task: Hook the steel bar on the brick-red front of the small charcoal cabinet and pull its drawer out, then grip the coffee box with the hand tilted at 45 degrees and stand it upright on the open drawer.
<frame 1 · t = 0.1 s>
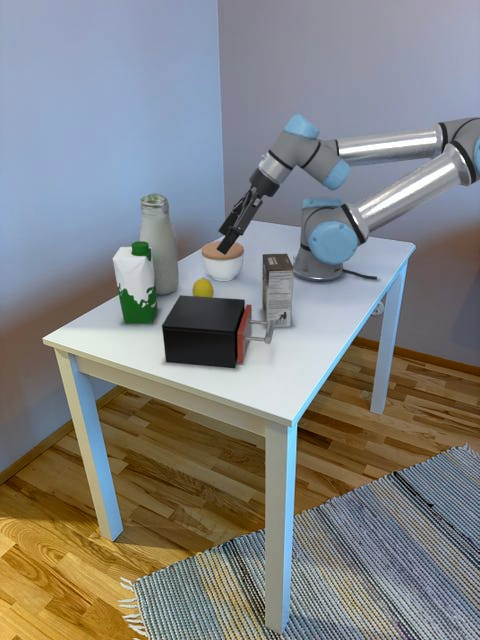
hand: (221, 242, 124), 15 cm above the table, tool tilted 35°, fingers open, 13 cm apart
cabinet: (207, 347, 108), on the table
lemon: (203, 305, 126), on the table
coffee box: (275, 319, 119), on the table
glass bottle: (163, 292, 133), on the table
milk carton: (141, 317, 121), on the table
drawer: (228, 331, 105), point 5 cm above the table, slide at 0.5 cm
lidded bowl: (223, 276, 142), on the table
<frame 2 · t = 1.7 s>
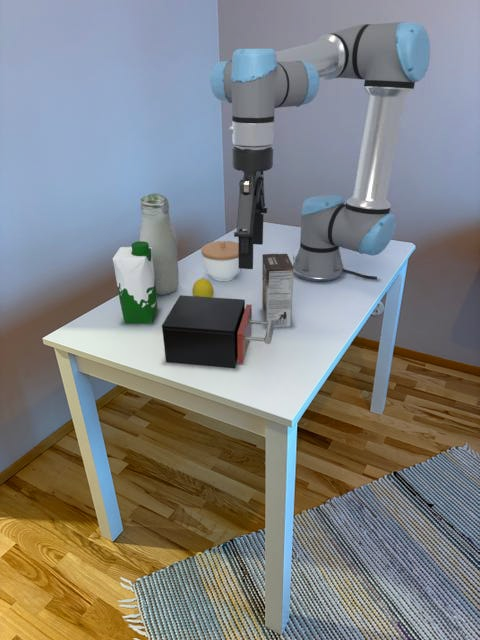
hand: (251, 255, 95), 23 cm above the table, tool pointing down, fingers open, 13 cm apart
nothing on the table moved.
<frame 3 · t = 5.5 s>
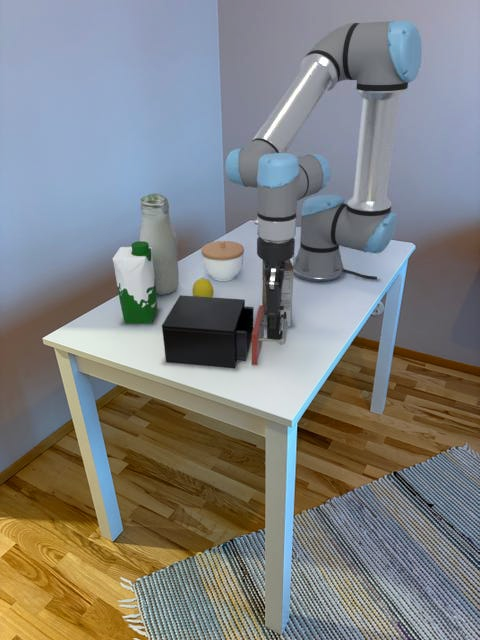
hand: (273, 337, 103), 4 cm above the table, tool pointing down, fingers closed
drawer: (241, 332, 104), point 5 cm above the table, slide at 3.5 cm, touching gripper
everything else where it was.
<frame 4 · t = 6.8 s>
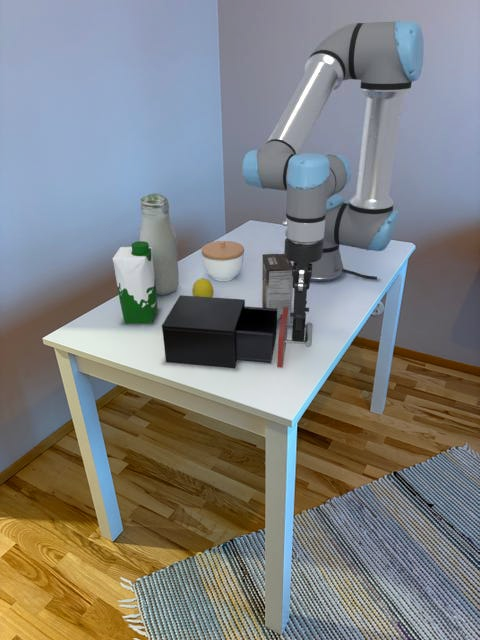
hand: (298, 339, 103), 4 cm above the table, tool pointing down, fingers closed
drawer: (266, 334, 103), point 5 cm above the table, slide at 9.1 cm, touching gripper
everything else where it was.
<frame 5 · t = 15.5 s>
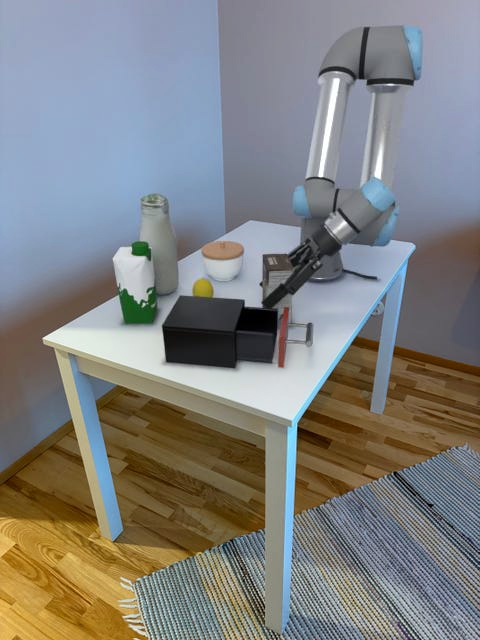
hand: (264, 296, 116), 6 cm above the table, tool tilted 45°, fingers closed on coffee box, 9 cm apart
coffee box: (275, 319, 119), on the table, touching gripper
drawer: (266, 334, 103), point 5 cm above the table, slide at 9.3 cm
everything else where it was.
when the fingers open (11 cm above the table, at t = 23.5 s): coffee box stays where it is, resting on drawer.
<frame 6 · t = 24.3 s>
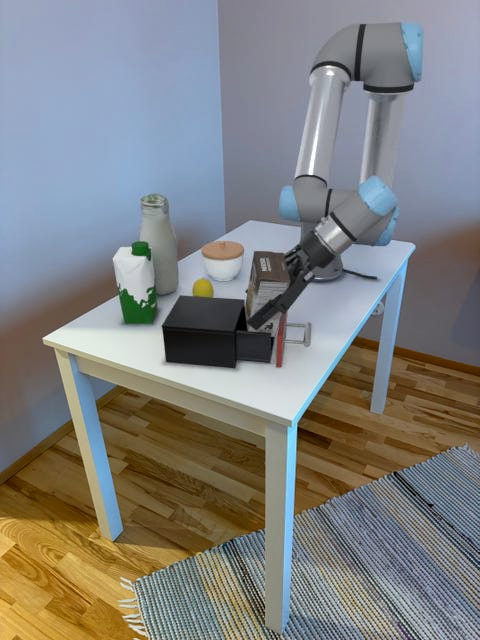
hand: (250, 309, 100), 11 cm above the table, tool tilted 45°, fingers open, 13 cm apart
coffee box: (259, 322, 102), point 8 cm above the table, touching drawer, gripper
drawer: (264, 334, 103), point 5 cm above the table, slide at 8.8 cm, touching coffee box
everything else where it was.
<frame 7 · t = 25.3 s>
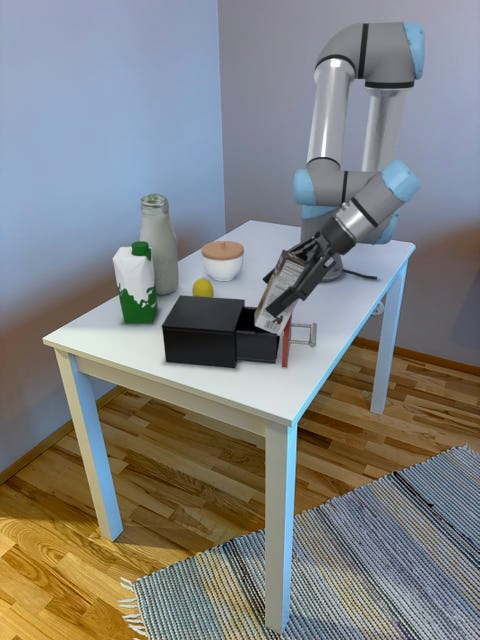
hand: (268, 297, 99), 14 cm above the table, tool tilted 45°, fingers open, 13 cm apart
coffee box: (266, 325, 102), point 7 cm above the table, touching drawer, gripper
drawer: (270, 335, 103), point 5 cm above the table, slide at 10.0 cm, touching coffee box
everything else where it was.
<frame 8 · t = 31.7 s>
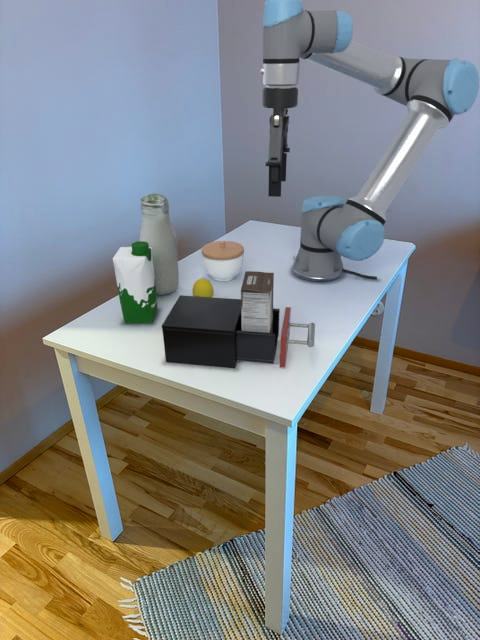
hand: (277, 188, 108), 32 cm above the table, tool pointing down, fingers open, 13 cm apart
coffee box: (257, 345, 105), point 2 cm above the table, touching drawer
drawer: (268, 335, 103), point 5 cm above the table, slide at 9.6 cm, touching coffee box
everything else where it was.
at the end: drawer slide at 9.6 cm; coffee box inside the target area in the drawer (0.7 cm from its centre), point 1.8 cm above the cabinet's base; coffee box tilted 0° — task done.
